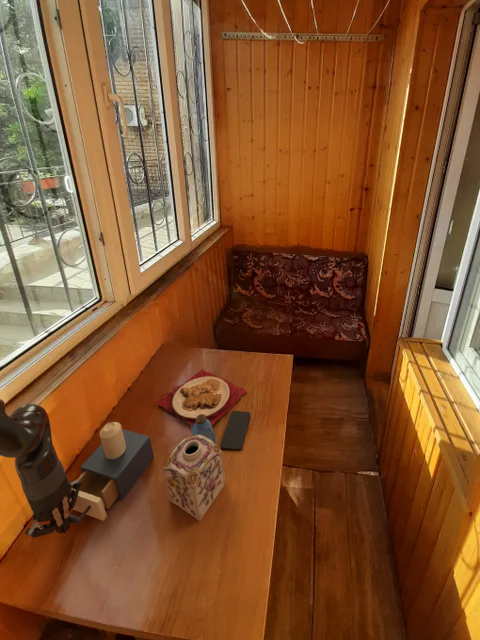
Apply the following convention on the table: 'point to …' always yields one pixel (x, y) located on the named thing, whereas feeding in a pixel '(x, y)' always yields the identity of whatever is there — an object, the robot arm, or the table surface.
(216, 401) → the plate with food
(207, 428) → the perfume bottle
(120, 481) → the cabinet
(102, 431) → the candle
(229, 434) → the phone
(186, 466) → the decorative jar
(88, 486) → the drawer
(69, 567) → the table surface
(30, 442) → the robot arm
